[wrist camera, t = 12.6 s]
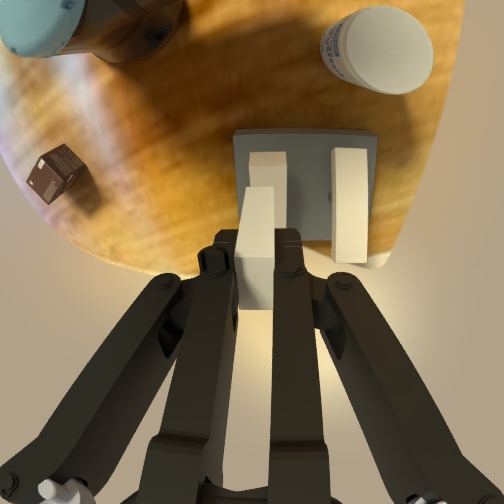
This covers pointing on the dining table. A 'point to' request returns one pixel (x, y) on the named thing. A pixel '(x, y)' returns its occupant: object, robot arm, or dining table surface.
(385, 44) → the supplement tub
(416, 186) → the dining table surface
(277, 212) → the switch left
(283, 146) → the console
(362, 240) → the switch right
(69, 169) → the box
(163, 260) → the dining table surface
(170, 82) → the dining table surface
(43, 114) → the dining table surface
